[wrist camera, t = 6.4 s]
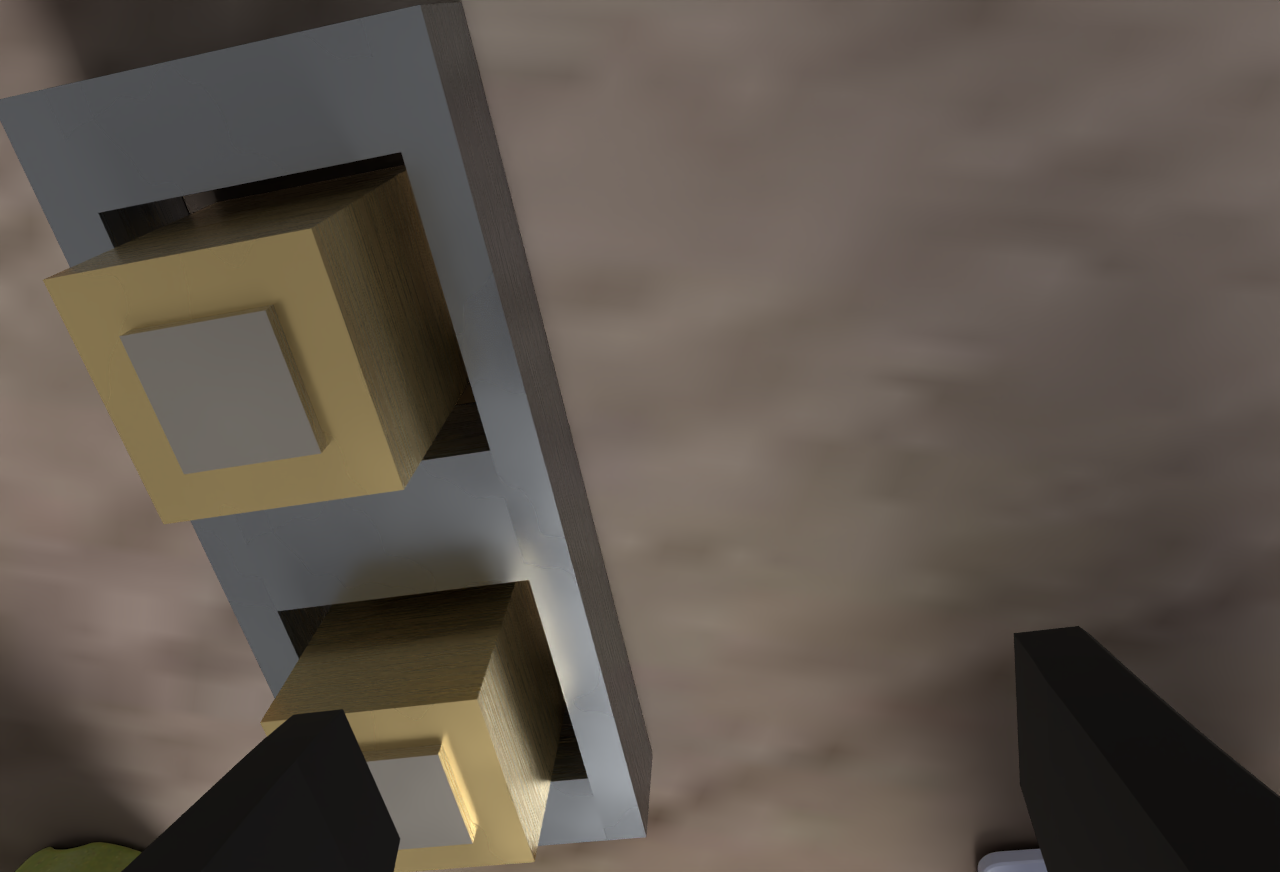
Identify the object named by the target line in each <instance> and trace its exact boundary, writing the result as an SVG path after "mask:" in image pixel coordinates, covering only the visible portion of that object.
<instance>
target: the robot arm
mask: <svg viewBox="0 0 1280 872" xmlns="http://www.w3.org/2000/svg"><path fill="white" fill-rule="evenodd" d="M1014 649H1015V673H1016V697H1017V722H1018V746H1019V770H1020V786H1021V789H1022V792H1023V795H1024V799H1025V802H1026V805H1027V808H1028V812H1029V815H1030V818H1031V821H1032V825H1033V828H1034V831H1035V834H1036V838H1037V841H1038V844H1039V847H1040V849H1026V850H1013V851H999V852H993V853H989V854H987V855H986V856H984V857H983V858H982V859H981V860H980V861H979V864H978V872H1280V796H1278V795H1277V794H1276V793H1275V792H1273V791H1272V790H1271V789H1270V788H1268V787H1267V786H1266V785H1265V784H1263V783H1262V782H1261V781H1260V780H1259V779H1257V778H1256V777H1255V776H1254V775H1252V774H1251V773H1250V772H1249V771H1247V770H1246V769H1245V768H1244V767H1242V766H1241V765H1240V764H1239V763H1237V762H1236V761H1235V760H1234V759H1233V758H1231V757H1230V756H1229V755H1228V754H1226V753H1225V752H1224V751H1223V750H1221V749H1220V748H1219V747H1218V746H1216V745H1215V744H1214V743H1213V742H1212V741H1211V740H1209V739H1208V738H1207V737H1206V736H1205V735H1203V734H1202V733H1201V732H1200V731H1199V730H1197V729H1196V728H1195V727H1194V726H1193V725H1192V724H1190V723H1189V722H1188V721H1187V720H1186V719H1185V718H1183V717H1182V716H1181V715H1180V714H1179V713H1178V712H1176V711H1175V710H1174V709H1173V708H1172V707H1171V706H1170V705H1168V704H1167V703H1166V702H1165V701H1164V700H1163V699H1161V698H1160V697H1159V696H1158V695H1157V694H1156V693H1155V692H1153V691H1152V690H1151V689H1150V688H1149V687H1148V686H1147V685H1146V684H1144V683H1143V682H1142V681H1141V680H1140V679H1139V678H1138V677H1136V676H1135V675H1134V674H1133V673H1132V672H1131V671H1130V670H1129V669H1128V668H1126V667H1125V666H1124V665H1123V664H1122V663H1121V662H1120V661H1119V660H1118V659H1116V658H1115V657H1114V656H1113V655H1112V654H1111V653H1110V652H1109V651H1108V650H1107V649H1105V648H1104V647H1103V646H1102V645H1101V644H1100V643H1099V642H1098V641H1097V640H1095V639H1094V638H1093V637H1092V636H1091V635H1090V634H1088V633H1087V632H1086V631H1084V630H1083V629H1082V628H1080V627H1079V626H1075V627H1067V628H1058V629H1049V630H1040V631H1031V632H1022V633H1014ZM399 844H400V837H399V834H398V832H397V830H396V828H395V825H394V823H393V821H392V819H391V816H390V814H389V812H388V809H387V807H386V805H385V803H384V800H383V798H382V796H381V794H380V791H379V789H378V787H377V785H376V782H375V780H374V778H373V776H372V773H371V771H370V769H369V767H368V764H367V762H366V760H365V758H364V755H363V753H362V751H361V749H360V746H359V744H358V742H357V740H356V737H355V735H354V733H353V731H352V728H351V726H350V724H349V721H348V719H347V717H346V715H345V712H344V710H343V709H339V710H330V711H321V712H312V713H303V714H295V715H292V716H291V717H290V718H289V719H287V720H286V721H285V722H284V723H283V724H281V725H280V726H279V727H278V728H276V729H275V730H274V731H273V732H272V733H271V734H270V735H268V736H267V737H266V738H265V739H264V740H263V741H262V742H260V743H259V744H258V745H257V746H256V747H255V748H254V749H253V750H252V751H250V752H249V753H248V754H247V755H246V756H245V757H244V758H243V759H242V760H241V761H240V762H239V763H237V764H236V765H235V766H234V767H233V768H232V769H231V770H230V771H229V772H228V773H227V774H226V775H225V776H223V777H222V778H221V779H220V780H219V781H218V782H217V783H216V784H215V785H214V786H213V787H212V788H211V789H210V790H208V791H207V792H206V793H205V794H204V795H203V796H202V797H201V798H200V799H199V800H198V801H197V802H196V803H195V804H194V805H192V806H191V807H190V808H189V809H188V810H187V811H186V812H185V813H184V814H183V815H182V816H181V817H180V818H178V819H177V820H176V821H175V822H174V823H173V824H172V825H171V826H170V827H169V828H168V829H167V830H166V831H164V832H163V833H162V834H161V835H160V836H159V837H158V838H157V839H156V840H155V841H154V842H153V843H151V844H150V845H149V846H148V847H147V848H146V849H145V850H144V851H143V852H142V853H141V854H140V855H139V856H137V857H136V858H135V859H134V860H133V861H132V862H131V863H130V864H129V865H128V866H127V867H126V868H124V869H123V870H122V871H121V872H394V868H395V863H396V858H397V853H398V849H399Z"/></svg>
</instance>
